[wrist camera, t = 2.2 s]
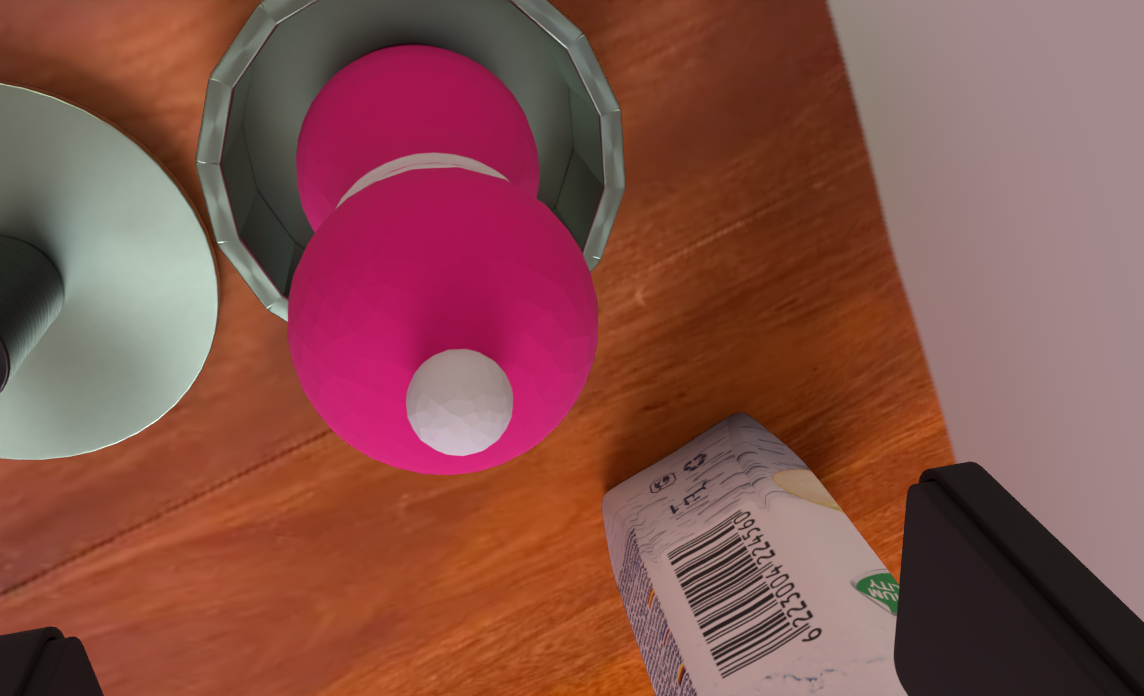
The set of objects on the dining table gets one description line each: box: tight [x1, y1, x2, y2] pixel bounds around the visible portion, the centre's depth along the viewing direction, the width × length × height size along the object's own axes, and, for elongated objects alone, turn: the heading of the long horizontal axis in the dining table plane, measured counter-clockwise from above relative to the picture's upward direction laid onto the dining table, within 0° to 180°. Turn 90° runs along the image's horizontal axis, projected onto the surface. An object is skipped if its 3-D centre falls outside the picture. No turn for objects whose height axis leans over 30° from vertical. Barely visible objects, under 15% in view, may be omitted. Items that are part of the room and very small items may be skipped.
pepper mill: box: [288, 43, 598, 475], centre depth 24 cm, size 7×7×20 cm
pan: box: [195, 0, 626, 322], centre depth 31 cm, size 12×12×5 cm
